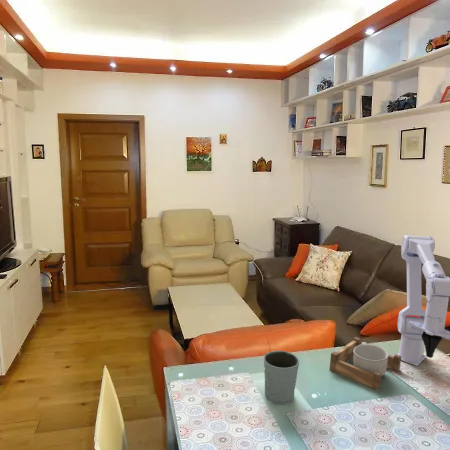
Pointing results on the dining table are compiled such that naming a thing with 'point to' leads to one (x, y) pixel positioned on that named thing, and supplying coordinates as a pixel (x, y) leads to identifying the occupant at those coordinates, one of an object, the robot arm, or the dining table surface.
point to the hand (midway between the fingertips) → (429, 356)
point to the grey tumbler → (280, 376)
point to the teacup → (370, 358)
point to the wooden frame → (356, 373)
